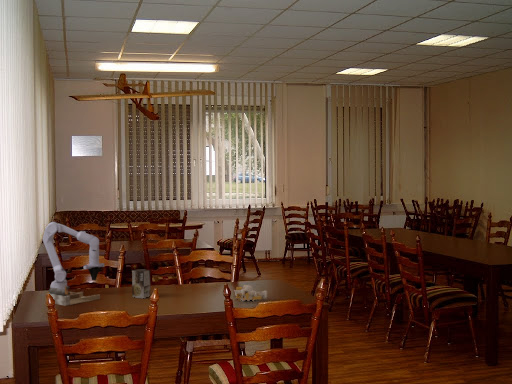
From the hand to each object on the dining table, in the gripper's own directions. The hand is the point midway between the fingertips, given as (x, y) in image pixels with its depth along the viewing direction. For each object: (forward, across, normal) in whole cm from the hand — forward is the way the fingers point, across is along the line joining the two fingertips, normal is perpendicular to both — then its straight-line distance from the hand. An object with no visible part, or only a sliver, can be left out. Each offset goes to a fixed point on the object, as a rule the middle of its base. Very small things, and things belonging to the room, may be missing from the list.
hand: (94, 280), depth 406 cm
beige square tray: (+9, -23, -5) cm, 25 cm away
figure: (+10, +45, -82) cm, 94 cm away
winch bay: (+9, -19, -4) cm, 22 cm away
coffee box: (+10, +14, -25) cm, 30 cm away
